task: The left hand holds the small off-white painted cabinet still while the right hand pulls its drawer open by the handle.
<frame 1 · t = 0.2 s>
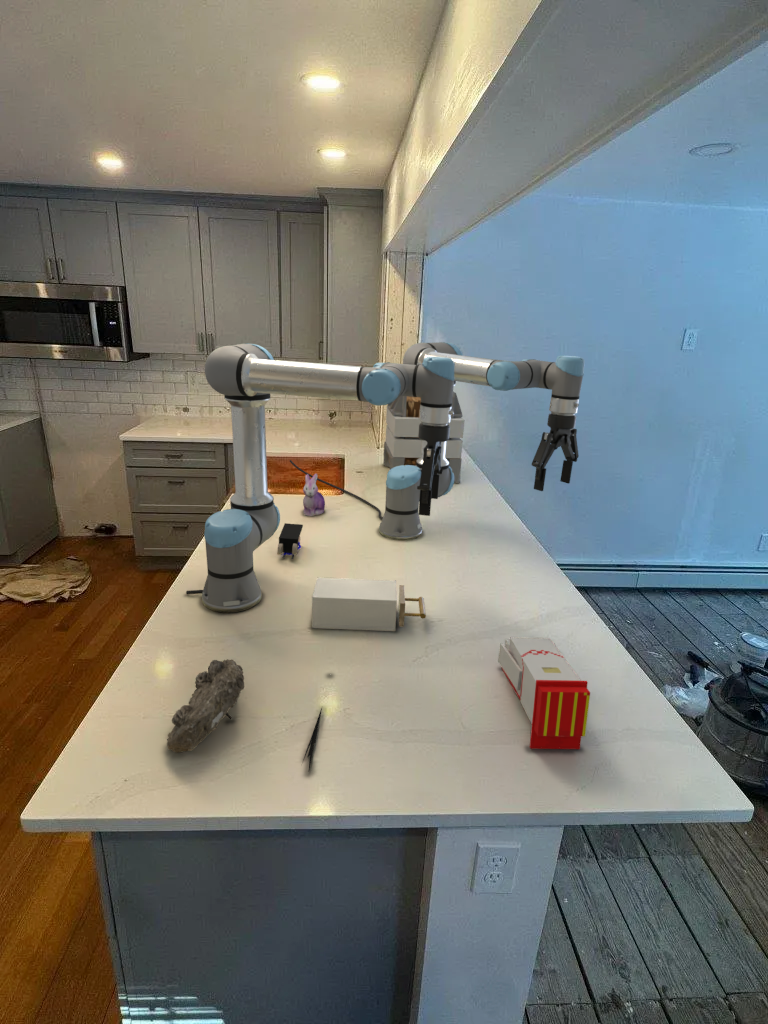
left hand: (428, 506, 144), 28 cm above the counter, tool pointing down, fingers open, 13 cm apart
right hand: (551, 486, 165), 28 cm above the counter, tool pointing down, fingers open, 13 cm apart
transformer: (419, 473, 275), on the counter
feather: (319, 719, 109), on the counter
figurine character: (290, 552, 181), on the counter
figurine: (313, 512, 217), on the counter
fossil: (212, 717, 108), on the counter
drawer: (376, 604, 143), point 4 cm above the counter, slide at 0.9 cm
toy: (533, 701, 117), on the counter
cabinet: (354, 618, 145), on the counter
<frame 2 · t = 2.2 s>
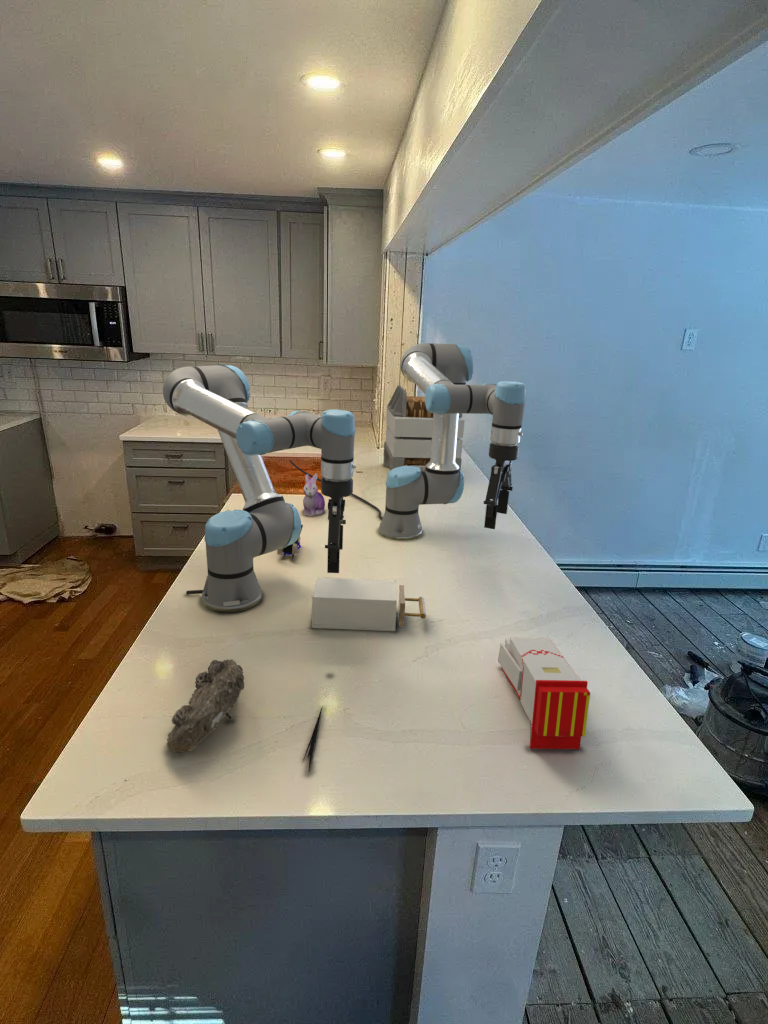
left hand: (335, 560, 140), 16 cm above the counter, tool pointing down, fingers open, 13 cm apart
right hand: (495, 520, 153), 22 cm above the counter, tool pointing down, fingers open, 13 cm apart
nothing on the counter moved.
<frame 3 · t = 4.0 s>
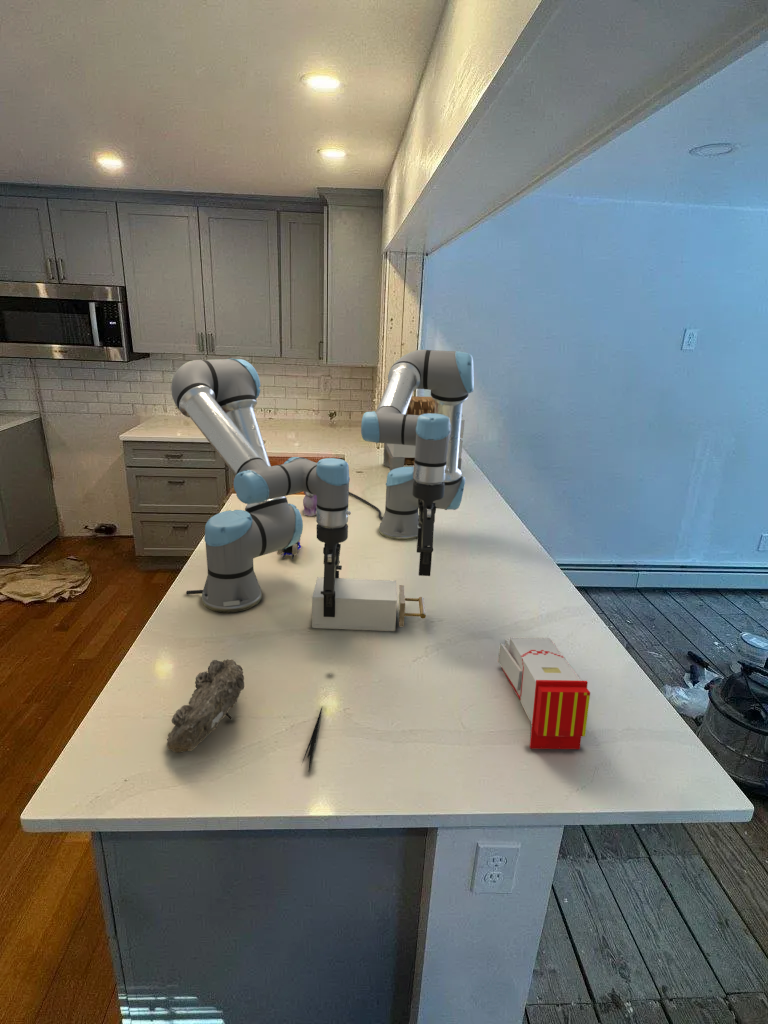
left hand: (331, 604, 143), 4 cm above the counter, tool pointing down, fingers closed on cabinet, 11 cm apart
right hand: (423, 563, 140), 16 cm above the counter, tool pointing down, fingers open, 13 cm apart
cabinet: (354, 618, 145), on the counter, touching left hand
everything else where it was.
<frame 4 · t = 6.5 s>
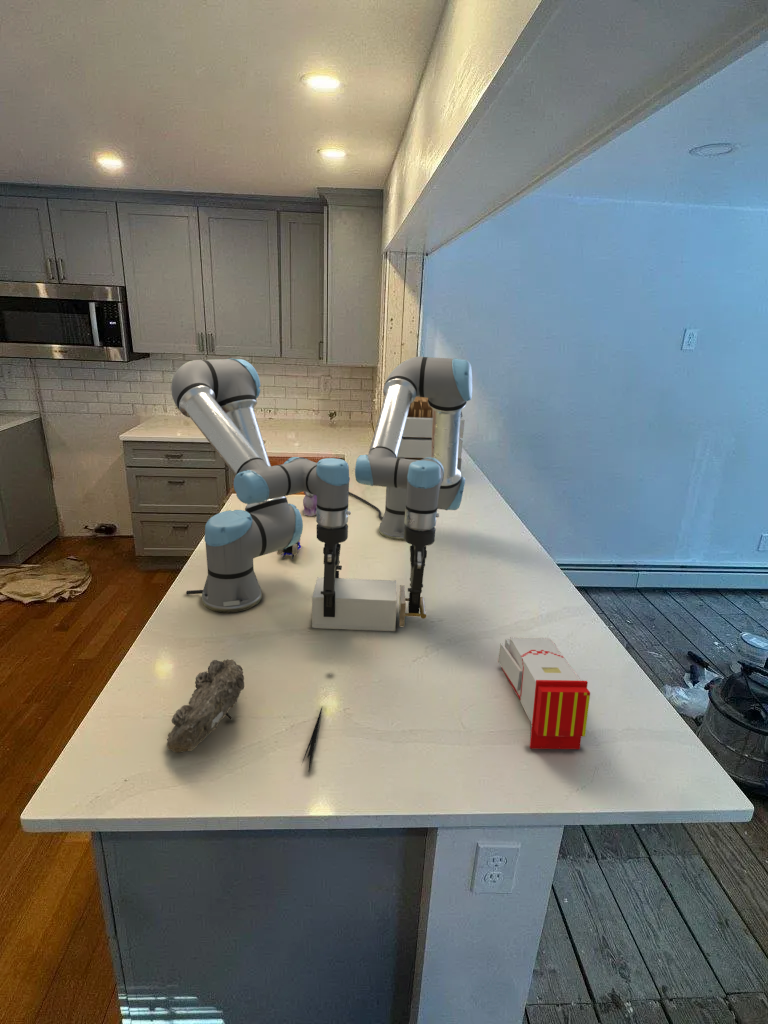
left hand: (331, 604, 143), 4 cm above the counter, tool pointing down, fingers closed on cabinet, 11 cm apart
right hand: (413, 612, 144), 2 cm above the counter, tool pointing down, fingers closed
drawer: (377, 604, 143), point 4 cm above the counter, slide at 1.0 cm, touching right hand
cabinet: (354, 618, 145), on the counter, touching left hand
everything else where it was.
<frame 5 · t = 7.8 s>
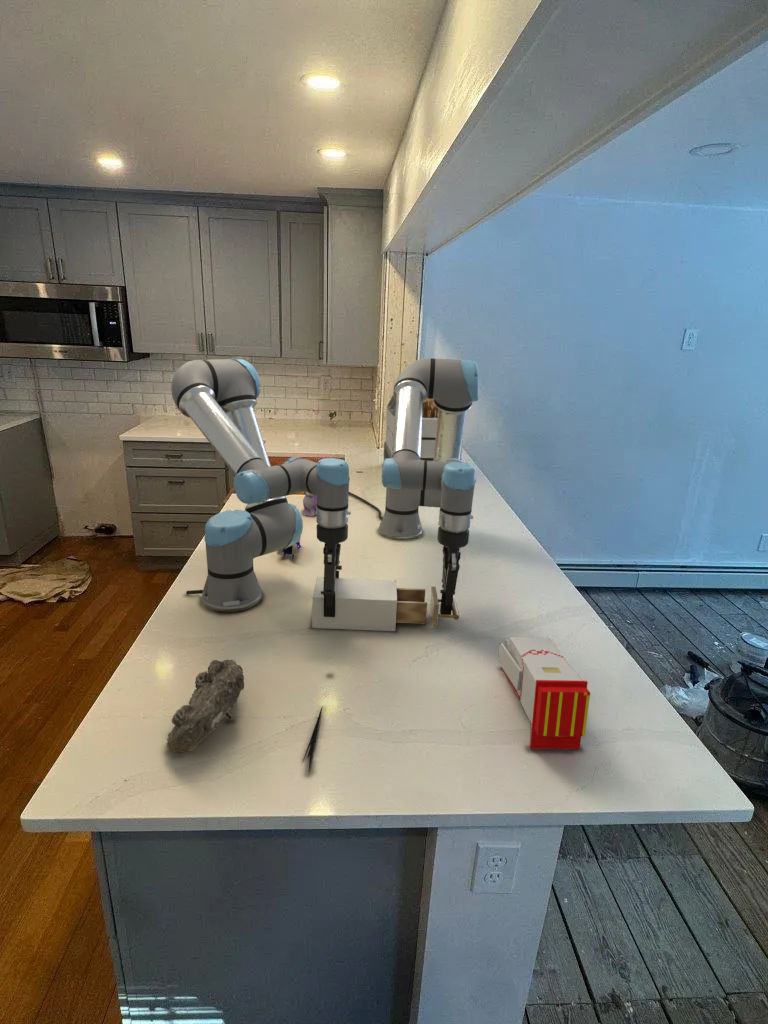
left hand: (331, 604, 143), 4 cm above the counter, tool pointing down, fingers closed on cabinet, 11 cm apart
right hand: (445, 613, 144), 2 cm above the counter, tool pointing down, fingers closed
drawer: (409, 605, 143), point 4 cm above the counter, slide at 9.1 cm, touching right hand
cabinet: (354, 618, 145), on the counter, touching left hand
everything else where it was.
when the left hand's fingers open (4 cm above the counter, at t = 9.5 s): cabinet stays where it is, on the counter.
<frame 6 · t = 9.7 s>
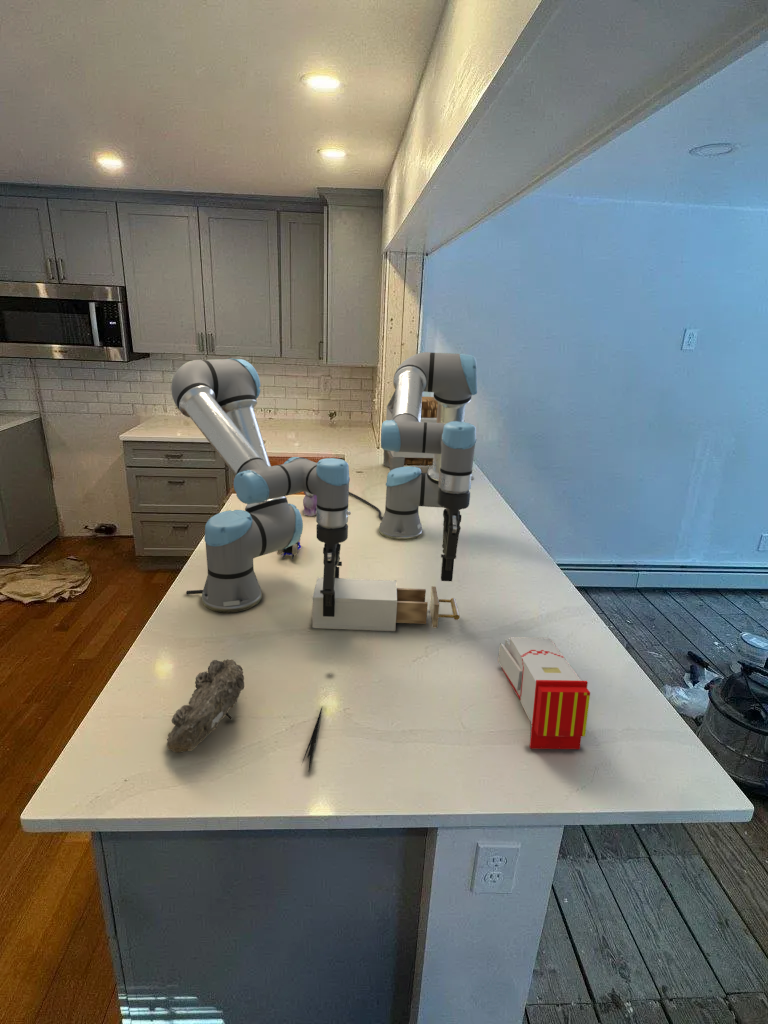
left hand: (331, 602, 143), 4 cm above the counter, tool pointing down, fingers open, 13 cm apart
right hand: (446, 579, 141), 12 cm above the counter, tool pointing down, fingers closed
drawer: (409, 605, 143), point 4 cm above the counter, slide at 9.2 cm
cabinet: (355, 618, 145), on the counter
everything else where it was.
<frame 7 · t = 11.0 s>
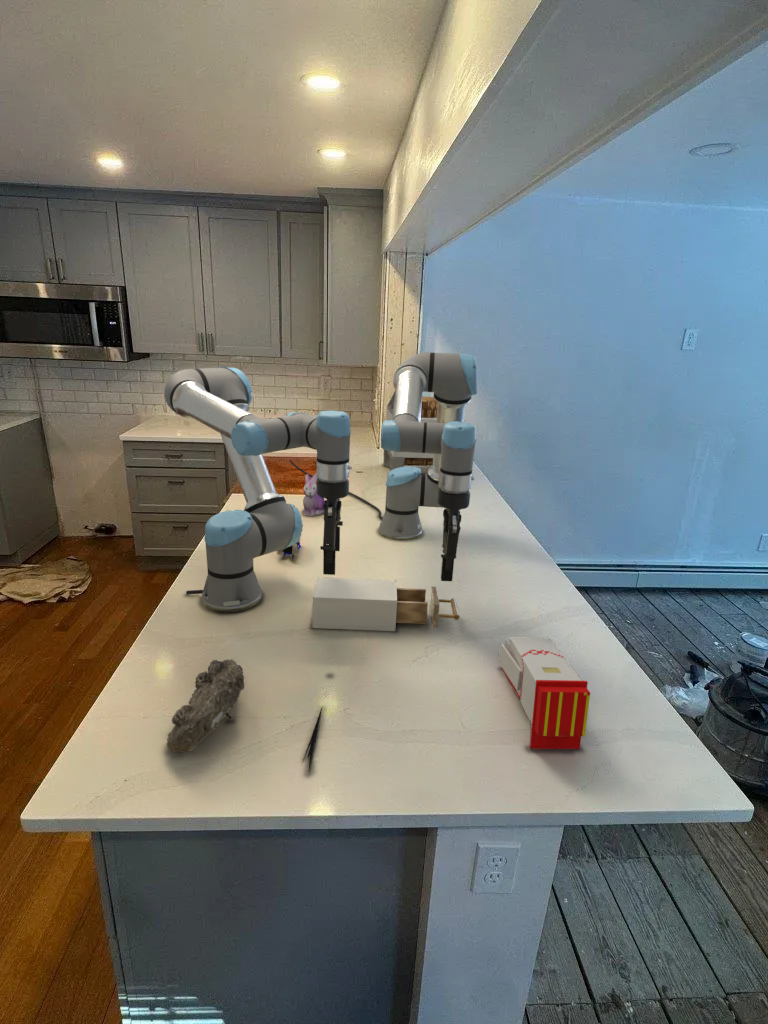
left hand: (331, 561, 139), 16 cm above the counter, tool pointing down, fingers open, 13 cm apart
right hand: (446, 579, 141), 12 cm above the counter, tool pointing down, fingers closed
nothing on the counter moved.
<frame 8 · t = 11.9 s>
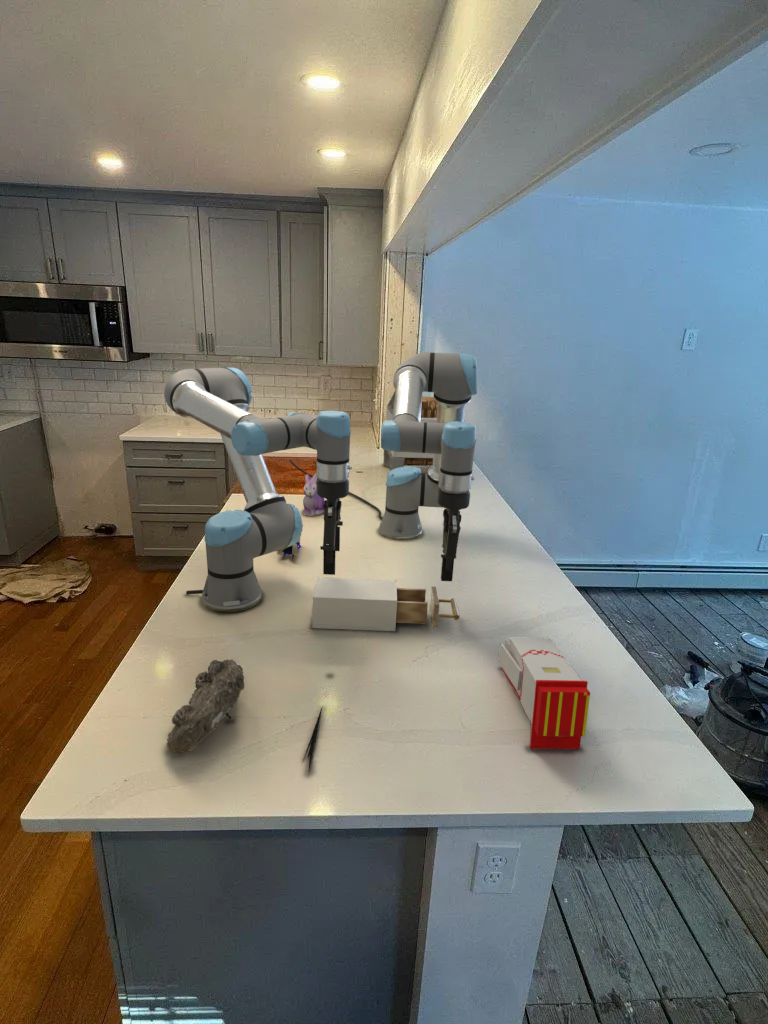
left hand: (331, 561, 139), 16 cm above the counter, tool pointing down, fingers open, 13 cm apart
right hand: (446, 579, 141), 12 cm above the counter, tool pointing down, fingers closed
nothing on the counter moved.
at the end: drawer slide at 9.2 cm; cabinet tilted 0°; cabinet never tilted more than 1° during the clip; cabinet moved 0.1 cm from its start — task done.
